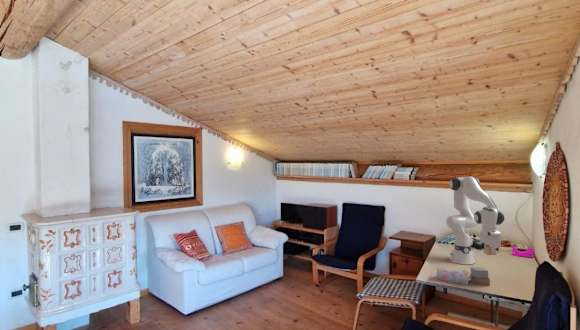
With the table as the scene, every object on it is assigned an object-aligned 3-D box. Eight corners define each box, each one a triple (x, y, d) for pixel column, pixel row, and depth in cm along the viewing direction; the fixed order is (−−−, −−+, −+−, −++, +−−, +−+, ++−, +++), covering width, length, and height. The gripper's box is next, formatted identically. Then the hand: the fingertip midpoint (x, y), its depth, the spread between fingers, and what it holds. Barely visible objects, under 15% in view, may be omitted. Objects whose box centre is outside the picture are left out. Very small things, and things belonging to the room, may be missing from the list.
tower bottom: (470, 281, 236) (470, 274, 236) (483, 281, 235) (483, 274, 235) (476, 285, 227) (475, 278, 227) (490, 285, 226) (489, 278, 226)
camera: (489, 251, 315) (488, 240, 315) (477, 250, 316) (476, 240, 316) (482, 247, 329) (482, 237, 329) (471, 247, 331) (470, 237, 331)
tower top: (471, 274, 236) (470, 267, 236) (483, 274, 235) (482, 267, 235) (475, 277, 228) (475, 270, 228) (488, 278, 227) (488, 270, 227)
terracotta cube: (484, 253, 231) (484, 245, 231) (491, 252, 230) (491, 245, 230) (488, 255, 226) (487, 247, 226) (495, 254, 225) (495, 247, 225)
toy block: (532, 255, 296) (532, 247, 296) (533, 257, 290) (533, 248, 290) (512, 253, 303) (512, 245, 304) (512, 255, 298) (512, 247, 298)
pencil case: (469, 282, 232) (469, 269, 232) (469, 286, 225) (468, 272, 225) (437, 278, 243) (436, 265, 243) (435, 282, 235) (435, 268, 235)
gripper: (476, 228, 238) (477, 247, 239) (492, 234, 218) (493, 255, 218) (486, 228, 238) (486, 247, 238) (502, 234, 218) (503, 255, 218)
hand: (489, 251), depth 228 cm, fingers closed on terracotta cube, 5 cm apart
